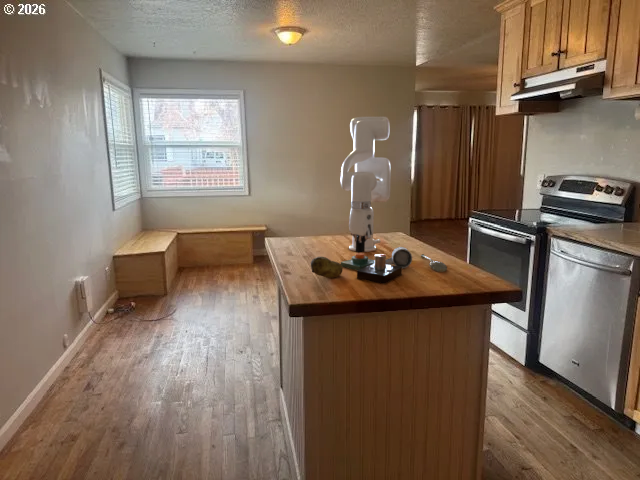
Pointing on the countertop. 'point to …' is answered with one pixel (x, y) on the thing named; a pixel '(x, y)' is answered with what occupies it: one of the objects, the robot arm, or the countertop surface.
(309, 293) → the countertop surface
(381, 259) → the knob
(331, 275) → the potato
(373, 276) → the hob console
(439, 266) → the soupspoon
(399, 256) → the ceramic mug
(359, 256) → the button
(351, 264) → the block
